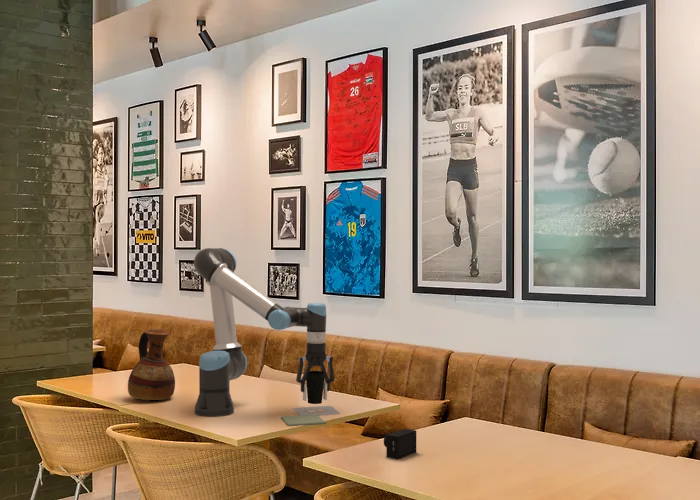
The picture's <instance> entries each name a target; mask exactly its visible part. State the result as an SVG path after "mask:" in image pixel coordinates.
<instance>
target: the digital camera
mask: <svg viewBox="0 0 700 500" xmlns="http://www.w3.org/2000/svg"><path fill="white" fill-rule="evenodd" d="M383 446H384V447H385V448H386V458H389V459H393V460H401V459H403V458H406V457H408V456H412V455H413V454H415V453H417V430H415V429H408V428H403V429H399V430H396V431H394V432H392V433H390V432H387V433H385V435H384V437H383Z"/></svg>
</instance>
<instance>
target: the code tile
mask: <svg viewBox="0 0 700 500" xmlns="http://www.w3.org/2000/svg"><path fill="white" fill-rule="evenodd" d="M292 410H293V411H295V412H296V414H297V415H313V414H317V415H318V416H328V415H329V416H330V415H341V414H342V413H341V412H340V411H338V410H337V409H336V408H334V407H333V406H332V405H324V406H323V405H322V406H306V407H304V406H303V407H292Z"/></svg>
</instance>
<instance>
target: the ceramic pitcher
mask: <svg viewBox="0 0 700 500" xmlns="http://www.w3.org/2000/svg"><path fill="white" fill-rule="evenodd" d="M169 335H170V331H167V330H165V329H153V328H150V329H147V330H146V329H145V331H144V332H143V333H142V334H141V336H140V338H139V342H138V354H139V361H138V362H137V364H135V366H134V367H133V368H132V370H131V372H130V374H129V377H128V380H127V392H128V394H129V396H130V397H132V398H133V399H135V400H138V399H141V400H140V401H143V400H159V401H164V400H167V399H169V398H171V397H173V395H174V392H175V389H176V388H175V387H176V379H175V378H176V377H175V374H174V371H173V368H172V366H171V365H170V363H169V362H168V360H166V359H165V357H164V356H163V355H164V354H163V348H164V343H165V341H166V338H168V336H169Z"/></svg>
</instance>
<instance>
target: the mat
mask: <svg viewBox="0 0 700 500" xmlns="http://www.w3.org/2000/svg"><path fill="white" fill-rule="evenodd" d="M280 419H281V420H282V421H283V422H284V423H285V424H286V426H288V427H296V426H297V427H298V426H308V425H309V426H310V425H312V426H313V425H326V424H327V422H326V421H325V419H323V418H322V417H321V416H320V415H317V414H313V415H299V414H297V415H285V416H283V415H282V416H280Z"/></svg>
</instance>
